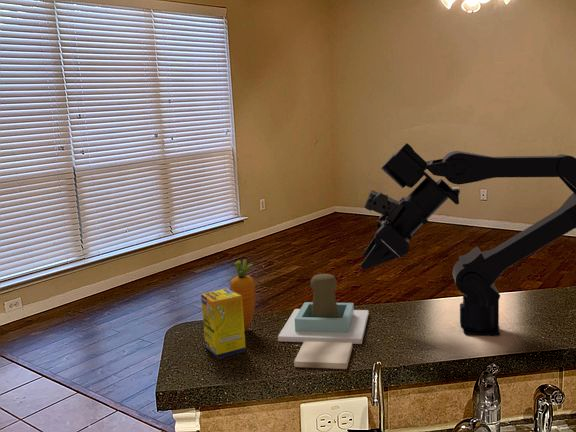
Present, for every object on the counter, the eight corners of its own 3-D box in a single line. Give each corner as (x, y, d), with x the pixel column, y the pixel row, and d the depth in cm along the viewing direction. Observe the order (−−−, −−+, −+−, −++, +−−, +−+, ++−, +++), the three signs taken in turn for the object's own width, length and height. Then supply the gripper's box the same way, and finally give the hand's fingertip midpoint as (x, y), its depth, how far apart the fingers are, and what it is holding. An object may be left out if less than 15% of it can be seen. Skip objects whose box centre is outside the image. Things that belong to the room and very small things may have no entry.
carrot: (247, 324, 120) (242, 255, 118) (263, 329, 117) (258, 258, 114) (228, 331, 117) (223, 260, 114) (244, 337, 113) (239, 263, 111)
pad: (352, 347, 105) (352, 342, 105) (346, 369, 96) (346, 363, 96) (304, 346, 107) (304, 341, 107) (294, 366, 98) (294, 361, 98)
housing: (368, 314, 122) (368, 298, 121) (361, 343, 106) (360, 326, 106) (295, 313, 125) (294, 297, 125) (278, 341, 110) (277, 323, 109)
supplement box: (204, 349, 108) (200, 293, 107) (233, 341, 111) (229, 287, 109) (216, 359, 103) (212, 301, 101) (246, 351, 106) (242, 294, 104)
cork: (340, 321, 119) (338, 270, 117) (340, 332, 113) (338, 278, 111) (311, 322, 119) (309, 271, 117) (309, 333, 113) (307, 279, 111)
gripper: (389, 171, 117) (338, 225, 121) (388, 181, 99) (327, 244, 103) (429, 208, 117) (376, 260, 121) (435, 225, 99) (373, 286, 103)
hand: (363, 262), depth 112 cm, fingers open, 9 cm apart
